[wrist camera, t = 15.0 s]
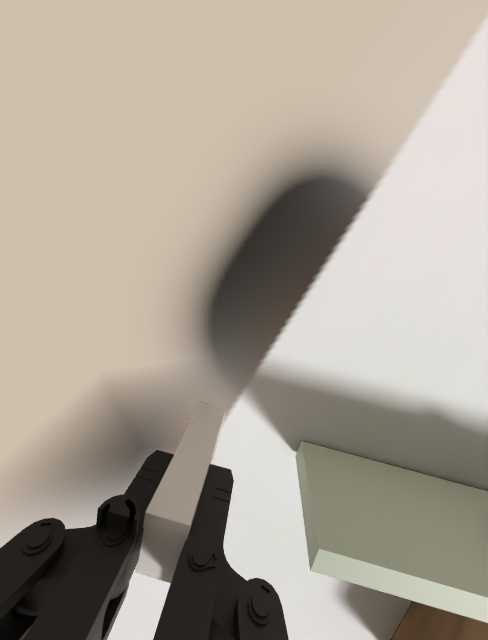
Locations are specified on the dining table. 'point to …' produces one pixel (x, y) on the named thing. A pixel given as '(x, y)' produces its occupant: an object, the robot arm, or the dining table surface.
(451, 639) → the holder
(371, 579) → the grey flat panel
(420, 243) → the dining table surface
